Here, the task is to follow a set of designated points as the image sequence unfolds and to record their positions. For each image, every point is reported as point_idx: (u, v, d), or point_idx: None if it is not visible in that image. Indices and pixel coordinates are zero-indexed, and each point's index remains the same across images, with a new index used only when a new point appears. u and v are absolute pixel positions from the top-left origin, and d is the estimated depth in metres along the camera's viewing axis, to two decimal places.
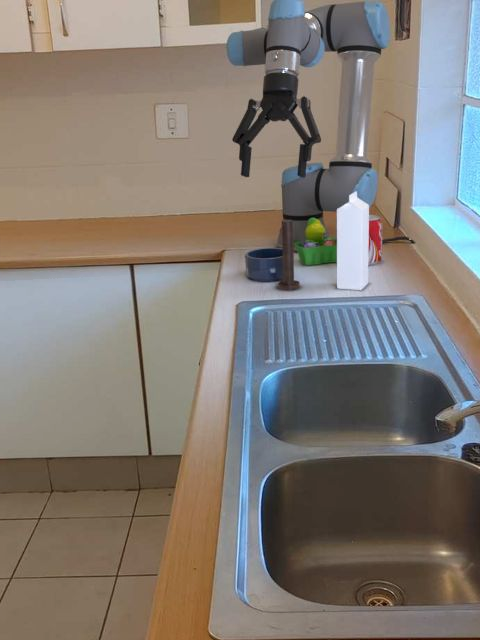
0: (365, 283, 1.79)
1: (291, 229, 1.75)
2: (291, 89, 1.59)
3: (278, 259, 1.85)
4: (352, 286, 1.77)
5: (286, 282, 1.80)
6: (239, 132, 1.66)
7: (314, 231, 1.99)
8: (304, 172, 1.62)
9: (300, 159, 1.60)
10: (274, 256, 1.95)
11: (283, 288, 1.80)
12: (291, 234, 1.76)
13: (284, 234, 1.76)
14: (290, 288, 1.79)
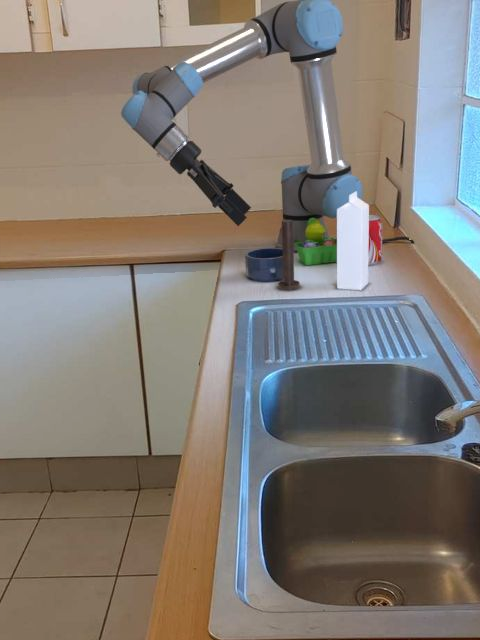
0: (365, 283, 1.79)
1: (291, 229, 1.75)
2: (182, 168, 1.70)
3: (278, 259, 1.85)
4: (352, 286, 1.77)
5: (286, 282, 1.80)
6: None
7: (314, 231, 1.99)
8: (241, 217, 1.69)
9: None
10: (274, 256, 1.95)
11: (283, 288, 1.80)
12: (291, 234, 1.76)
13: (284, 234, 1.76)
14: (290, 288, 1.79)
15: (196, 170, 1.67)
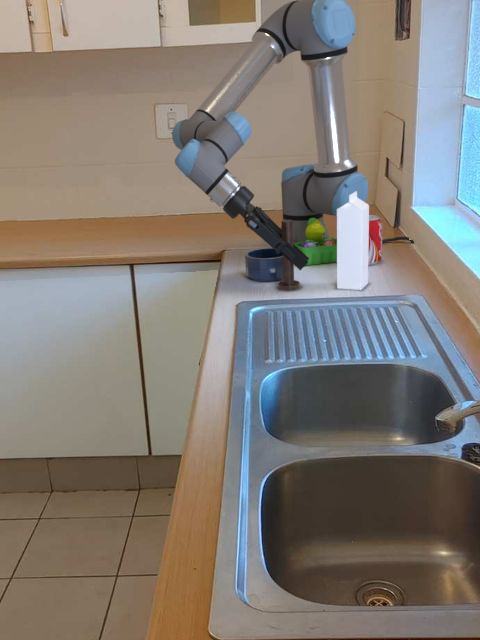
0: (365, 283, 1.79)
1: (291, 229, 1.75)
2: (236, 213, 1.73)
3: (278, 259, 1.85)
4: (352, 286, 1.77)
5: (286, 282, 1.80)
6: None
7: (314, 231, 1.99)
8: (303, 261, 1.77)
9: None
10: (274, 256, 1.95)
11: (283, 288, 1.80)
12: (291, 234, 1.76)
13: (284, 234, 1.76)
14: (290, 288, 1.79)
15: (256, 222, 1.71)
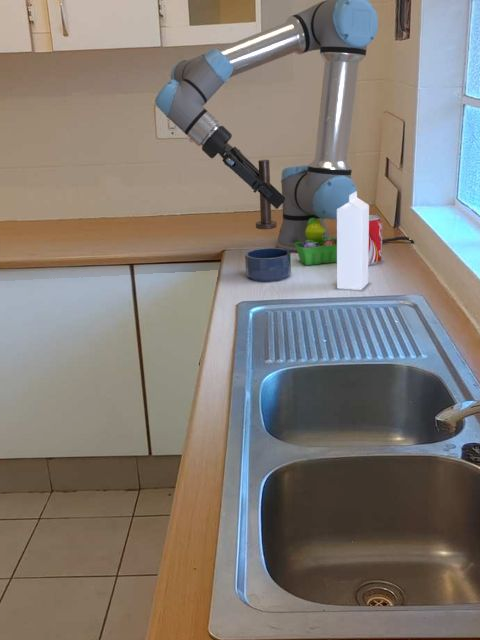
0: (365, 283, 1.79)
1: (268, 168, 1.81)
2: (214, 152, 1.79)
3: (278, 259, 1.85)
4: (352, 286, 1.77)
5: (263, 221, 1.86)
6: None
7: (314, 231, 1.99)
8: (279, 200, 1.82)
9: None
10: (274, 256, 1.95)
11: (260, 227, 1.85)
12: (268, 173, 1.81)
13: (261, 173, 1.81)
14: (267, 227, 1.85)
15: (234, 159, 1.76)
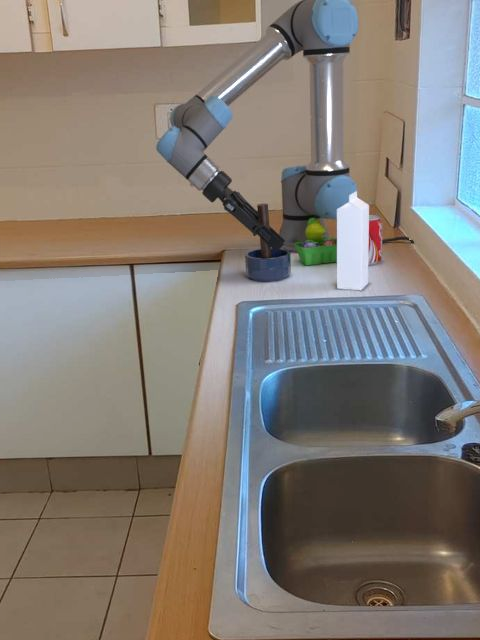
0: (365, 283, 1.79)
1: (267, 212, 1.84)
2: (214, 197, 1.82)
3: (278, 259, 1.85)
4: (352, 286, 1.77)
5: None
6: None
7: (314, 231, 1.99)
8: (279, 243, 1.85)
9: None
10: (274, 256, 1.95)
11: None
12: (267, 217, 1.84)
13: (260, 217, 1.84)
14: None
15: (233, 205, 1.79)
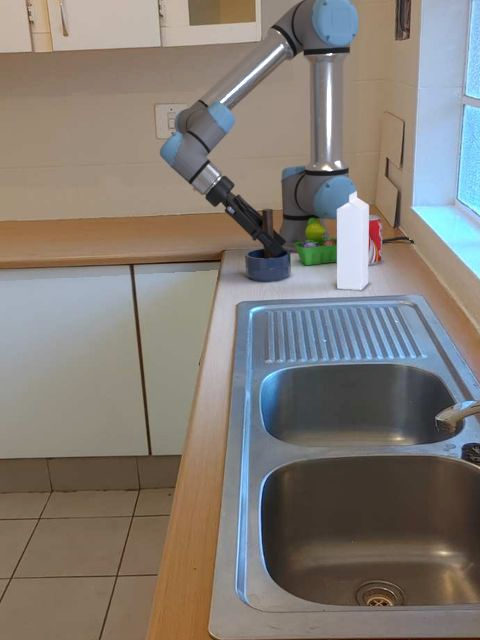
0: (365, 283, 1.79)
1: (270, 218, 1.85)
2: (217, 202, 1.83)
3: (278, 259, 1.85)
4: (352, 286, 1.77)
5: None
6: None
7: (314, 231, 1.99)
8: (279, 248, 1.85)
9: None
10: (274, 256, 1.95)
11: None
12: (270, 222, 1.86)
13: (263, 222, 1.86)
14: None
15: (234, 208, 1.80)
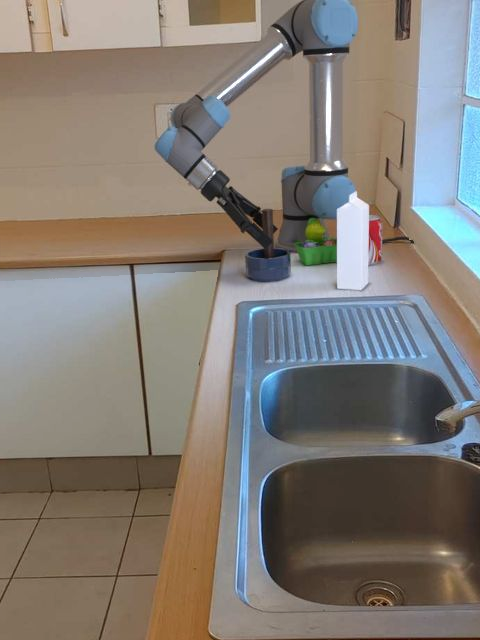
0: (365, 283, 1.79)
1: (270, 218, 1.85)
2: (212, 196, 1.83)
3: (278, 259, 1.85)
4: (352, 286, 1.77)
5: None
6: None
7: (314, 231, 1.99)
8: (268, 240, 1.81)
9: None
10: (274, 256, 1.95)
11: None
12: (270, 222, 1.86)
13: (263, 222, 1.86)
14: None
15: (225, 199, 1.79)
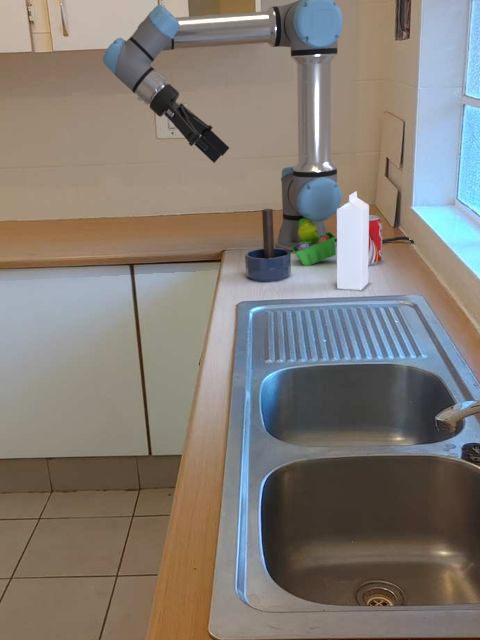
0: (365, 283, 1.79)
1: (270, 218, 1.85)
2: (161, 110, 1.82)
3: (278, 259, 1.85)
4: (352, 286, 1.77)
5: None
6: None
7: (304, 232, 1.99)
8: (216, 154, 1.81)
9: None
10: (274, 256, 1.95)
11: None
12: (270, 222, 1.86)
13: (263, 222, 1.86)
14: None
15: (173, 110, 1.78)
